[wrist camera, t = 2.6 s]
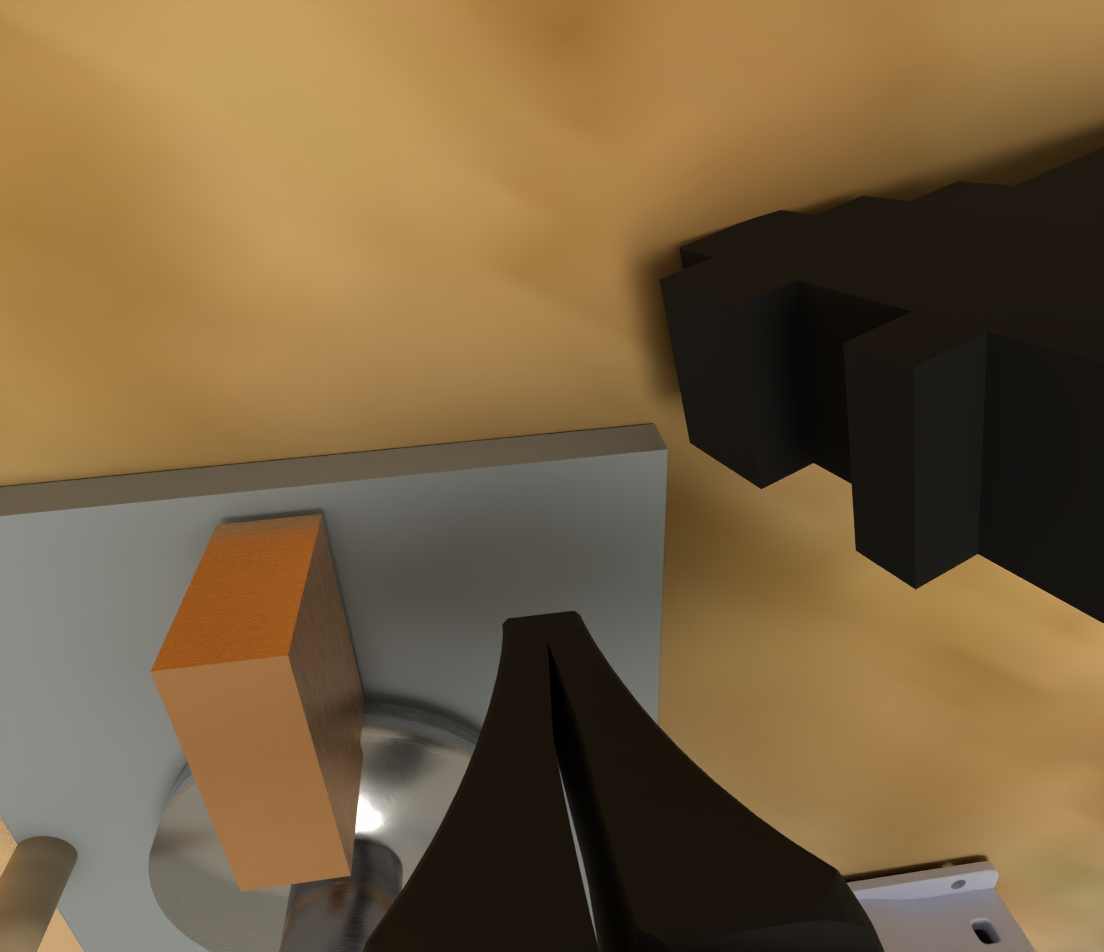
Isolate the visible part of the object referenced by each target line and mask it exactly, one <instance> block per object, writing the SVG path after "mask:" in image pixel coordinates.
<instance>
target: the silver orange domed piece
mask: <svg viewBox="0 0 1104 952" xmlns="http://www.w3.org/2000/svg"><path fill="white" fill-rule="evenodd" d="M151 674H152V677H153V679H154V681H155V684H156V686H157V689H158V691H159V694H160V696H161V699H162V701H163V703H164V706H165V708H166V711H167V713H168V716H169V718H170V720H171V723H172V725H173V728H174V730H175V733H176V735H177V737H178V740H179V742H180V745H181V747H182V750H183V752H184V755H185V757H186V759H187V762H188V766H187V767H186V768H185V770H184V771H183V772H182V773H181V775H180V776H179V777H178V779H177V781H176V783H175V785H174V787H173V788H172V790H171V792H170V795H169V798H168V800H167V803H166V806H165V809H164V812H163V815H162V818H161V820H160V823H159V826H158V829H157V832H156V835H155V837H154V841H153V844H152V847H151V851H150V854H149V866H148V873H149V879H150V886H151V889H152V891H153V894H154V896H155V899H156V901H157V903H158V905H159V906H160V908H161V909H162V911H163V913H164V914H165V916H166V917H167V918H168V919H169V920H170V921H171V922H172V923H173V924H174V926H175V927H176V928H177V929H178V930H180V931H181V932H182V933H183V934H185V935H186V936H187V937H188V938H190V939H191V940H192V941H194V942H195V943H197V944H199V945H200V946H202V947H203V948H205V949H207V950H208V951H211V952H363V949H364V946H365V943H366V941H367V940H368V938H369V937H370V935H371V934H372V932H373V931H374V930H375V928H376V927H377V925H378V924H379V922H380V921H381V920H382V918H383V917H384V915H385V914H386V912H387V911H388V910H389V908H390V907H391V905H392V904H393V902H394V901H395V900H396V898H397V897H398V895H399V894H400V892H401V891H402V889H403V888H404V886H405V885H406V883H407V881H408V880H409V878H410V876H411V875H412V873H413V871H414V870H415V868H416V866H417V865H418V863H419V861H420V860H421V858H422V856H423V855H424V853H425V851H426V850H427V848H428V846H429V845H430V843H431V841H432V839H433V838H434V836H435V834H436V832H437V830H438V828H439V826H440V824H441V823H442V821H443V819H444V817H445V815H446V812H447V810H448V808H449V806H450V804H451V802H452V800H453V798H454V796H455V794H456V792H457V790H458V788H459V785H460V783H461V781H462V779H463V776H464V774H465V772H466V769H467V767H468V764H469V762H470V759H471V757H472V754H473V752H474V749H475V746H476V744H477V741H478V738H479V734H478V733H476V732H474V731H473V730H471V729H469V728H468V727H466V726H464V725H462V724H459V723H457V722H455V721H453V720H450V719H448V718H446V717H443V716H440V715H437V714H434V713H431V712H428V711H425V710H421V709H416V708H411V707H407V706H402V705H396V704H387V703H378V702H365V701H364V697H363V692H362V688H361V683H360V679H359V675H358V670H357V666H356V661H355V657H354V653H353V648H352V644H351V640H350V635H349V631H348V626H347V622H346V618H345V613H344V609H343V605H342V600H341V596H340V591H339V587H338V583H337V578H336V574H335V570H334V565H333V561H332V556H331V552H330V548H329V543H328V539H327V534H326V530H325V526H324V521H323V517H322V514H316V515H306V516H297V517H287V518H277V519H268V520H258V521H248V522H239V523H229V524H219V525H216V527H215V529H214V532H213V534H212V536H211V538H210V541H209V543H208V545H207V547H206V549H205V552H204V554H203V556H202V558H201V561H200V563H199V565H198V567H197V569H196V572H195V574H194V576H193V578H192V580H191V583H190V585H189V587H188V589H187V592H186V594H185V596H184V598H183V600H182V603H181V605H180V607H179V609H178V612H177V614H176V616H175V618H174V620H173V623H172V625H171V627H170V629H169V632H168V634H167V636H166V638H165V640H164V643H163V645H162V647H161V649H160V652H159V654H158V656H157V658H156V660H155V663H154V665H153V667H152V669H151Z"/></svg>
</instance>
